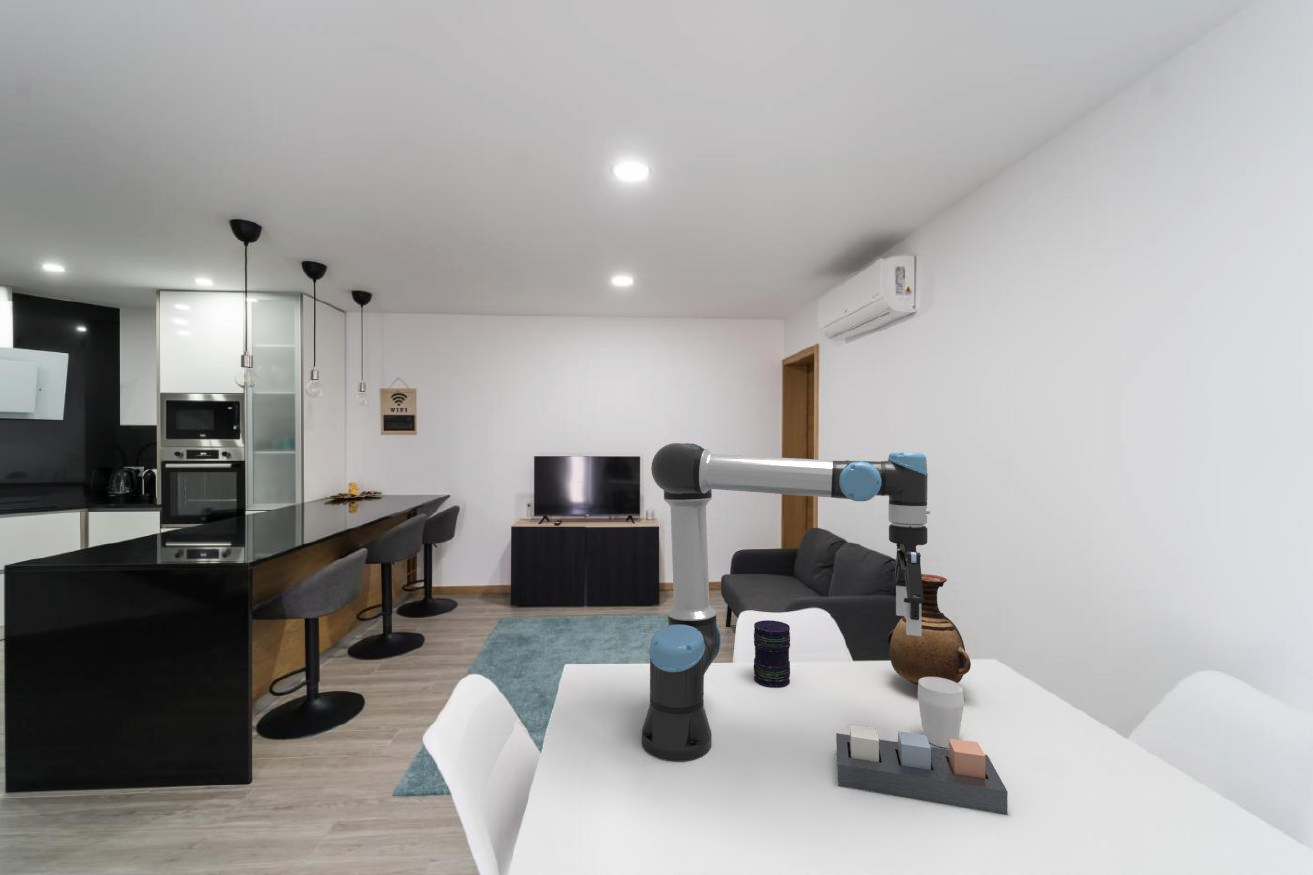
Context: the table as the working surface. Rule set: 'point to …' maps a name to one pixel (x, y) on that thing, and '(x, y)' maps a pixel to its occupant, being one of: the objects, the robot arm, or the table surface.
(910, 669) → the vase
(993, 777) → the panel
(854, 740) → the ivory key
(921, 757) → the slate key
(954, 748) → the terracotta key
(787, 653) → the storage jar
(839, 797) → the table surface
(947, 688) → the cup
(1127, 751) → the table surface
